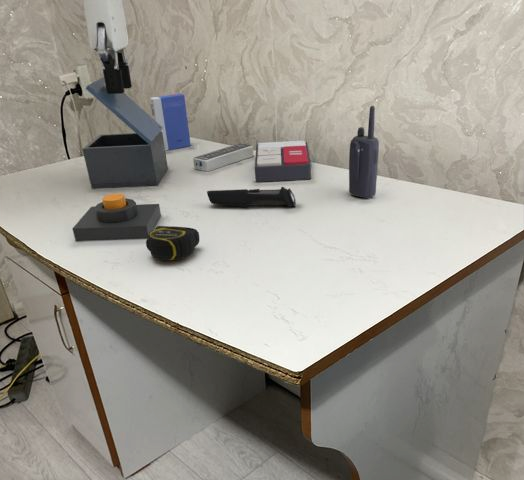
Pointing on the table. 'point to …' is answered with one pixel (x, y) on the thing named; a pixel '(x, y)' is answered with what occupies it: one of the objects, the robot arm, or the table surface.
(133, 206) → the control block
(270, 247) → the table surface
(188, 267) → the table surface
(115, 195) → the button
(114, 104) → the compartment lid
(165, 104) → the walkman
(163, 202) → the table surface
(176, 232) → the tape measure
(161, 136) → the compartment
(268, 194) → the electric trimmer
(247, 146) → the multiport hub
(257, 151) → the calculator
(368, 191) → the two-way radio
